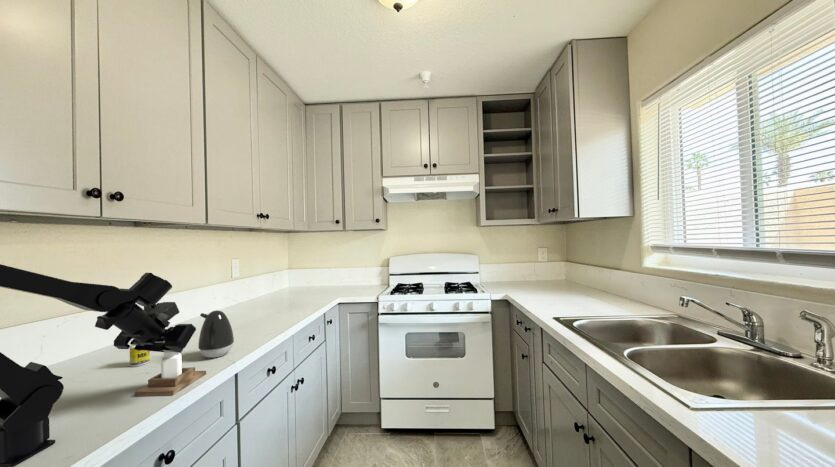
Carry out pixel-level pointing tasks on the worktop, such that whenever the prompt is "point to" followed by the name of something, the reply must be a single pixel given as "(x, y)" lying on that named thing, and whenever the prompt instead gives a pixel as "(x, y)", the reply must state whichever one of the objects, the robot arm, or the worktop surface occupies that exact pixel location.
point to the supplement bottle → (138, 357)
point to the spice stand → (170, 383)
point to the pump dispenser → (215, 335)
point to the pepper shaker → (171, 365)
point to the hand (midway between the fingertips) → (175, 350)
